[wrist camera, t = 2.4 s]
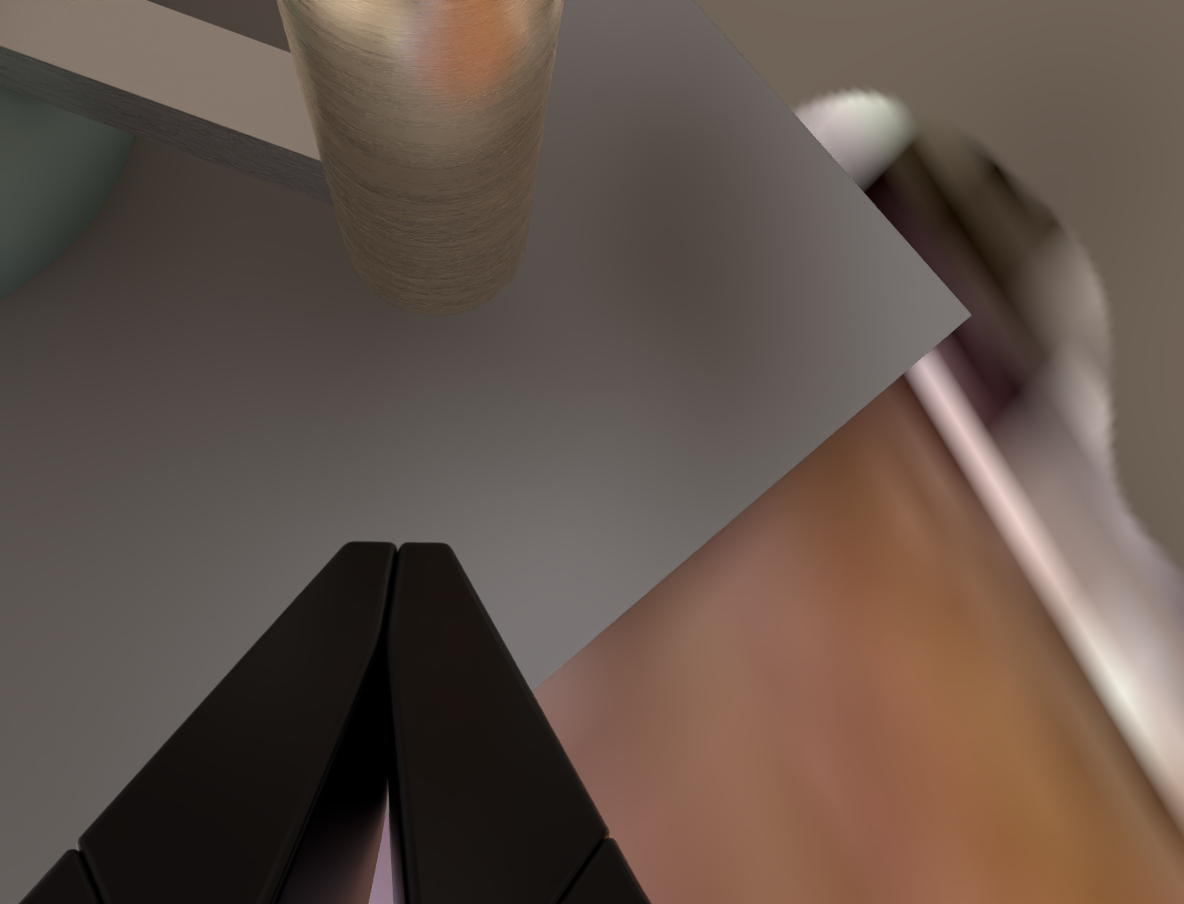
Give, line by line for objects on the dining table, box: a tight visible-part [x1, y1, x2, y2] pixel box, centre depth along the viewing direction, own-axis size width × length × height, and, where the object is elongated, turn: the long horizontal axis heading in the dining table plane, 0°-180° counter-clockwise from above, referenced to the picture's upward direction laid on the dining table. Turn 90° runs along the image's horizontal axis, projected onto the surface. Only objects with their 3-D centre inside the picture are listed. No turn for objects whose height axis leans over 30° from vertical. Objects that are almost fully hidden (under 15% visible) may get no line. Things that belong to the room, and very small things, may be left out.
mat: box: [0, 0, 971, 904], centre depth 17 cm, size 19×19×1 cm
